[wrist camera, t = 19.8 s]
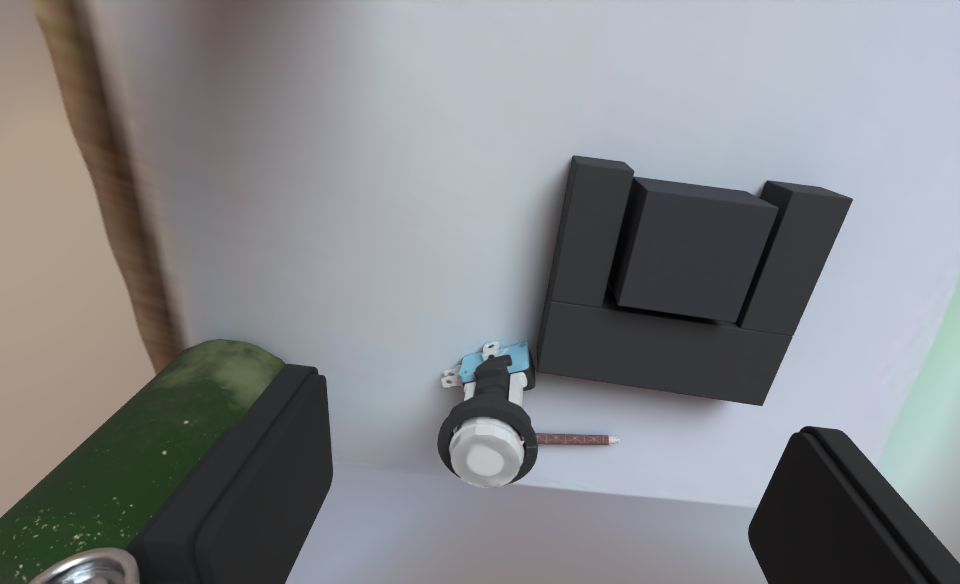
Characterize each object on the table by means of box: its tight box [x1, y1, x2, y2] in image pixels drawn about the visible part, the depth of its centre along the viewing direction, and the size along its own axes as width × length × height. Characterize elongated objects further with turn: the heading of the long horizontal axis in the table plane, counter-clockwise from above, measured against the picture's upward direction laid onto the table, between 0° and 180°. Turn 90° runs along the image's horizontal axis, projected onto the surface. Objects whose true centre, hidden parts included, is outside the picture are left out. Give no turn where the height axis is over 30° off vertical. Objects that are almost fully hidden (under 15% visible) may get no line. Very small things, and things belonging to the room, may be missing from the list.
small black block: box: [608, 177, 779, 322], centre depth 27 cm, size 6×6×4 cm
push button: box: [437, 341, 538, 488], centre depth 29 cm, size 7×5×10 cm
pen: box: [521, 433, 622, 445], centre depth 35 cm, size 11×1×1 cm, turn 94°
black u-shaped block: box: [537, 156, 853, 406], centre depth 28 cm, size 13×14×3 cm
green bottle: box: [0, 339, 286, 584], centre depth 25 cm, size 10×10×25 cm
